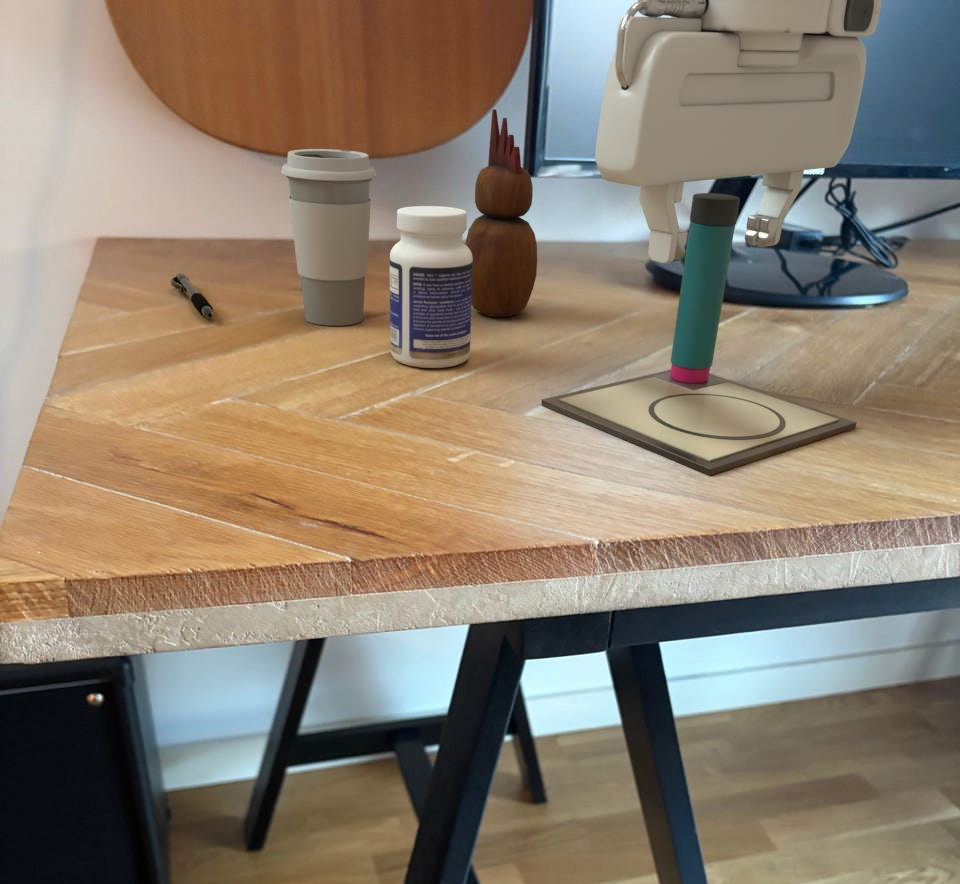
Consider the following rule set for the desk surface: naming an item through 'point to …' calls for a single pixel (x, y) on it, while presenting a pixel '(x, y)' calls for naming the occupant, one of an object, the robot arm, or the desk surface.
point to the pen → (192, 295)
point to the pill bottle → (430, 288)
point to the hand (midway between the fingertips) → (715, 252)
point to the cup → (330, 231)
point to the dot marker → (703, 285)
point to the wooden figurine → (502, 230)
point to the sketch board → (699, 419)
